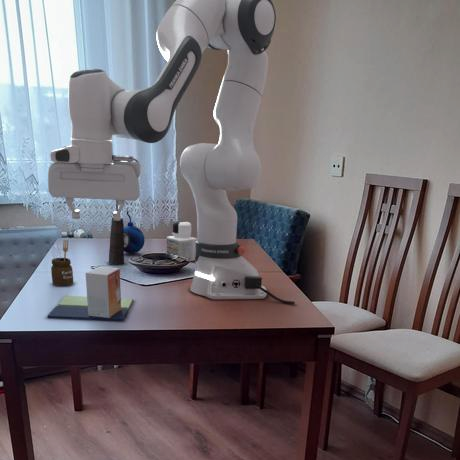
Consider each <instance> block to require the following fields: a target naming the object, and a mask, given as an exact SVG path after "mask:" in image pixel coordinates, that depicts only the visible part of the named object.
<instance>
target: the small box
mask: <svg viewBox="0 0 460 460" xmlns="http://www.w3.org/2000/svg"><path fill="white" fill-rule="evenodd" d="M85 284H86V286H85V287H86V297H87V302H88V315H89V316H94V317H104V318H110V317H111V316H113V315H114V314H115V313H117V312H118V311H120V310H121V298H122V295H121V294H122V292H121V269H120V267H110V266H102V265H101V266H97V267H96V268H94V269H92V270H89V271H88V272H85Z"/></svg>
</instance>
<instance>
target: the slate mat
mask: <svg viewBox="0 0 460 460" xmlns="http://www.w3.org/2000/svg"><path fill="white" fill-rule="evenodd" d="M128 312H129V310H128V309H121V310H120V311H118V312H117V313H115V314H114V315H113V316H111V317H110V318H104V317H94V316H89V315H88V308H87V307H65V306H58V305H56V306H55V307H54V308H53V309H52V310H51V311H50V312H49V314H48V315H47V319H61V320H62V319H63V320H84V321H103V322H104V321H108V322H124V321H125V318H126V316H127V314H128Z"/></svg>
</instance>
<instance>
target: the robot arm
mask: <svg viewBox="0 0 460 460" xmlns="http://www.w3.org/2000/svg"><path fill="white" fill-rule="evenodd" d="M276 20H277V17H276V9H275V6H274V3H273V0H175V1H174V2H173V3H172V4H171V6H170V7H169V8H168V10H167V11H166V12H165V14H164V15H163V17H162V18H161V20H160V22H159V24H158V26H157V29H156V42H157V46H158V49H159V51H160V53H161V55H162V56H163V59H164V60H165V61H166V63H165V65H164V66H163V68H162V70H161V71H160V73H159V74H158V76H157V78H156V80H155V81H154V83H153V84H152V85H150V86H148V87H146V88H144V89H137V90H136V89H135V90H133V89H131V90H130V89H129V90H127V89H126V88H124V87H122V86H120V85H119V84H117V82H115V81H114V80H113V79H111V78H110V77H109V76H108V74H107V72H106V71H105V70H103V69H99V68H94V69H93V68H92V69H83V70H77V71H74V72H73V73H72V74H71V75H70V76H69V79H68V84H67V85H68V88H67V100H68V101H67V104H68V105H67V106H68V116H69V120H70V123H71V133H70V145H65V146H63V147H61V148H58V149H54V150H52V151H51V152H50V155H49V156H50V160H51V162H52V163H51V164H50V166H49V167H48V172H47V187H48V188H47V189H48V194H49V195H50V196H51V197H52V198H62V199H63V198H65V204H66V205H67V207H68V209H69V210H70V211H71V218H72V219H74V220H79V219H80V218H81V211H80V209H76V207H75V205H74V204H73V203H74V202H75V199H86V200H106V201H107V200H108V201H109V200H110V201H116V200H117V203H118V211H117V212H116V211H113V212H112V216H113V217H112V218H113V220H114V221H120V220H121V218H122V217H121V216H122V215H121V212H122V211H123V209H124V207H125V205H126V201H128V202H129V201H130V202H132V201H133V202H135V201H137V200H138V199H139V198H140V197H141V190H140V189H141V188H140V182H139V181H140V180H139V177H140V175H141V164H140V162H139V160H138V159H136V158H134V156H133V155H119V154H118V155H117V154H114V148H113V147H114V146H113V137H116V138H118V139H126V140H135V141H139V142H144V143H146V144H155V143H158V142H160V141H162V140H163V139H164V138H165V137H166V136H167V134H168V132H169V130H170V128H171V125H172V122H173V118H174V115H175V111H176V109H177V107H178V106H179V103H180V102H181V99H182V98H183V96H184V94H185V93H186V91H187V89H188V87H189V86H190V84H191V83H192V80H193V79H194V77H195V75H196V73H197V71H198V69H199V67H200V65H201V61H202V57H203V56H202V55H203V54H204V51H205V50H206V49H207V48H208V49H210V50H214V51H222V50H225V51H226V50H227V65H226V67H225V68H226V69H225V71H224V74H223V76H222V80H221V84H220V87H219V90H218V94H217V97H216V102H215V105H214V107H213V108H214V109H213V119H214V121H215V123H216V125H217V126H218V127H219V133H220V134H219V140H218V143H210V142H200V143H194V144H191V145H188V146H187V147H186V148H185V149H184V150H183V151H182V153H181V156H180V160H179V169H180V172H181V175H182V176H183V178H184V180H185V181H186V182H187V183H188V185H189V187H190V189H191V193H192V195H193V199H194V204H195V208H196V238H197V240H196V243H195V260H194V261H195V264H194V272H193V278H192V282H191V284H190V285H191V286H190V288H189V290H190V291H191V292H192V293H194V294H196V295H199V296H203V297H206V298H208V299H211V300H261V299H265V298H267V296H270V297H271V298H272V299H274V300H276V301H277V302H279V303H283V304H287V305H295V301H293V300H285V299H281V298H279V297H277V296H276V295H274V294H273V293H271V292H270V291H268V290H267V288H266V287H265V286H264V285H262V280H263V278H262V277H261V275H260V274H259V271H258V270H257V268H256V267H255V266H254V265H252V263H250V262H249V260H247V259H246V258H245V257H243V255H244V254H245V252H246V249H245V247H244V246H243V245H242V244H241V243H239V242H238V241H237V232H238V231H237V229H238V213H237V211H236V209H235V208H234V207H233V206H232V204H231V202H230V201H229V198H228V194H227V192H228V191H229V192H244V191H250V190H253V188H255V187H256V186H257V184H258V183H259V181H260V180H261V176H262V170H263V169H262V162H261V158H260V156H259V154H258V153H257V151H256V149H255V144H254V129H255V124H256V120H257V117H258V114H259V113H258V112H259V108H260V105H261V102H262V98H263V95H264V91H265V87H266V82H267V77H268V70H269V56H268V54H267V52H266V50H267V49H268V48H269V46H270V44H271V42H272V38H273V35H274V32H275V27H276V22H277V21H276ZM72 219H71V220H72Z"/></svg>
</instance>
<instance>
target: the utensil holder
mask: <svg viewBox="0 0 460 460" xmlns="http://www.w3.org/2000/svg"><path fill="white" fill-rule="evenodd" d="M55 249H60V247H58V246H56V245H55V246H53V248H52V250H51V253H54V252H55ZM62 251H63V252H64V253H63V254H64V255H63V257H59V254H61V251H60V250H57V253H59V254H56V255H55V254H52V257H53V258H52V259H51V264H52V265H51V267H50V268H51V270H50V272H51V273H50V274H51V281H52V282H51V283H52V284H53V286H57V287H69V286H72V285H73V284H74V271H73V267H72V265H71V264H72V262H71V259H70V258H68V257H67V252H68V251H69V239H63V241H62ZM55 256H56V257H55Z"/></svg>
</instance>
